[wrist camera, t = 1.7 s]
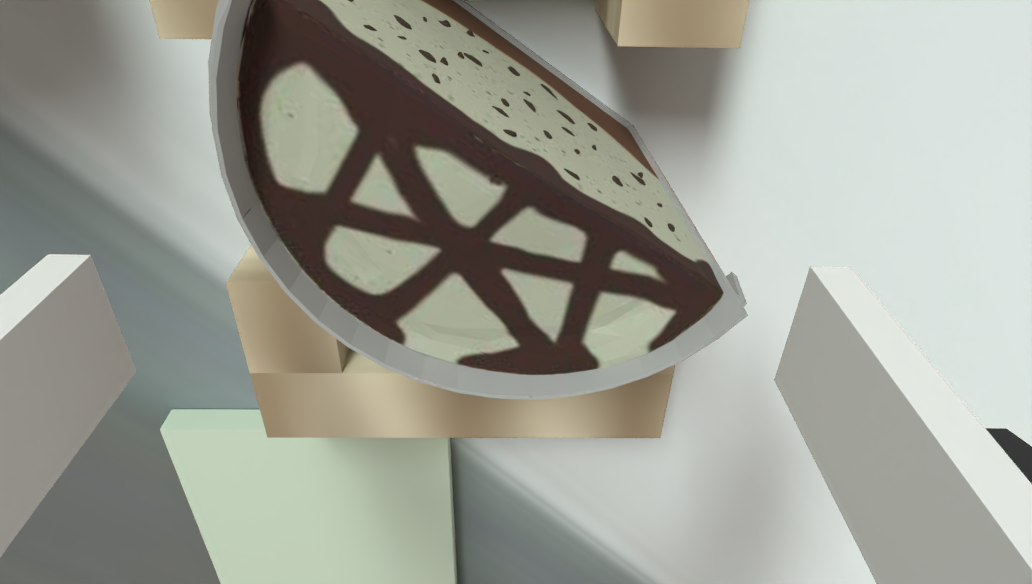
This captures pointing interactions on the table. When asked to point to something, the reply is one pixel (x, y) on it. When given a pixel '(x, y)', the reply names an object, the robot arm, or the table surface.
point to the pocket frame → (396, 398)
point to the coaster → (314, 502)
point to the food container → (455, 200)
